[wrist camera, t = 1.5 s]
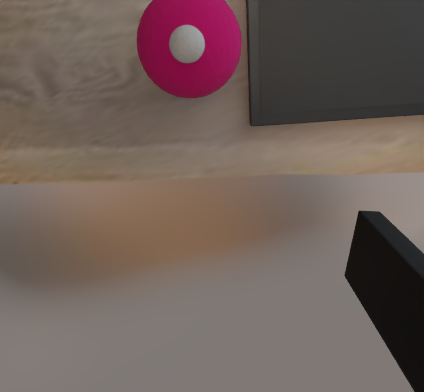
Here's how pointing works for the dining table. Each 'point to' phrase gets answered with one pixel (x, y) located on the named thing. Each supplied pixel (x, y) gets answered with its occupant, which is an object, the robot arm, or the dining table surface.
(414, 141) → the dining table surface
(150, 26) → the pepper mill
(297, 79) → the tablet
